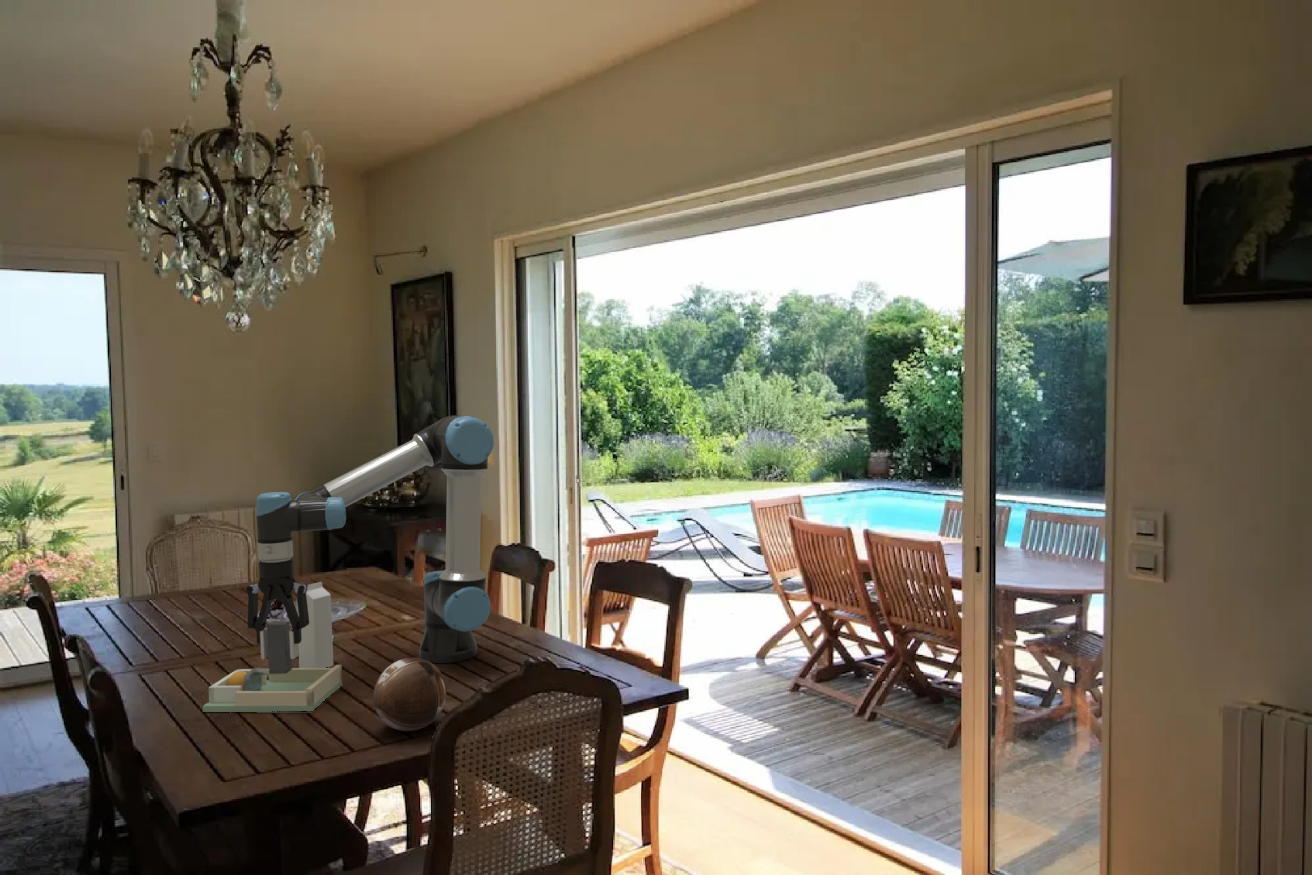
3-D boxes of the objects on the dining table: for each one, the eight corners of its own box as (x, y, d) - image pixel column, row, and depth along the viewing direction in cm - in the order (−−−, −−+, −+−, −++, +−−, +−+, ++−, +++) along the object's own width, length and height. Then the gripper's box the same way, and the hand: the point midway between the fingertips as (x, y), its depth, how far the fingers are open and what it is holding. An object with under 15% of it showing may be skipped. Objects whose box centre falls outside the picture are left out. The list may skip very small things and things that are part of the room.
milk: (299, 669, 240) (295, 585, 239) (317, 662, 246) (313, 580, 244) (316, 672, 238) (312, 586, 236) (334, 665, 243) (330, 582, 242)
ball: (230, 680, 221) (247, 693, 221) (219, 687, 216) (237, 700, 216) (242, 664, 220) (259, 676, 220) (232, 670, 215) (249, 683, 215)
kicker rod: (295, 686, 221) (292, 619, 220) (284, 695, 215) (281, 626, 214) (256, 686, 221) (253, 619, 220) (244, 695, 215) (241, 626, 214)
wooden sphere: (359, 733, 195) (356, 662, 194) (414, 711, 208) (412, 645, 207) (408, 747, 187) (405, 674, 186) (462, 724, 199) (460, 655, 199)
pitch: (342, 685, 226) (341, 664, 226) (312, 712, 208) (311, 688, 208) (241, 686, 227) (240, 665, 227) (202, 712, 209) (201, 689, 209)
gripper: (227, 562, 212) (231, 662, 214) (309, 562, 212) (313, 661, 213) (243, 556, 220) (247, 652, 221) (322, 555, 219) (326, 652, 221)
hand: (279, 657), depth 217 cm, fingers open, 6 cm apart
